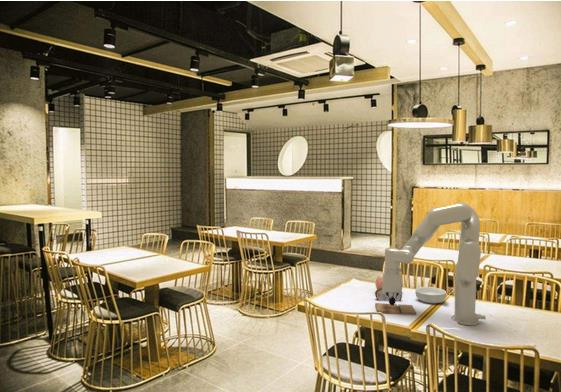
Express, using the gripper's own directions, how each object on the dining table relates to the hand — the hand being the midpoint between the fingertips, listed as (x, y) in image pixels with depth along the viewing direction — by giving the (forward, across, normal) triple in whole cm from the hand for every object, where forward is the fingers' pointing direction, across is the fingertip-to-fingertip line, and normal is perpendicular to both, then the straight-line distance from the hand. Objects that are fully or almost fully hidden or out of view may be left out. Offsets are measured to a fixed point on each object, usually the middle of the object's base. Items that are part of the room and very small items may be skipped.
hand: (392, 304), depth 216 cm
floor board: (+4, -1, 0) cm, 4 cm away
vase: (+4, -1, -35) cm, 35 cm away
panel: (+3, +3, 0) cm, 4 cm away
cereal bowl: (+5, -24, -21) cm, 32 cm away
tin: (+4, 0, -18) cm, 18 cm away
